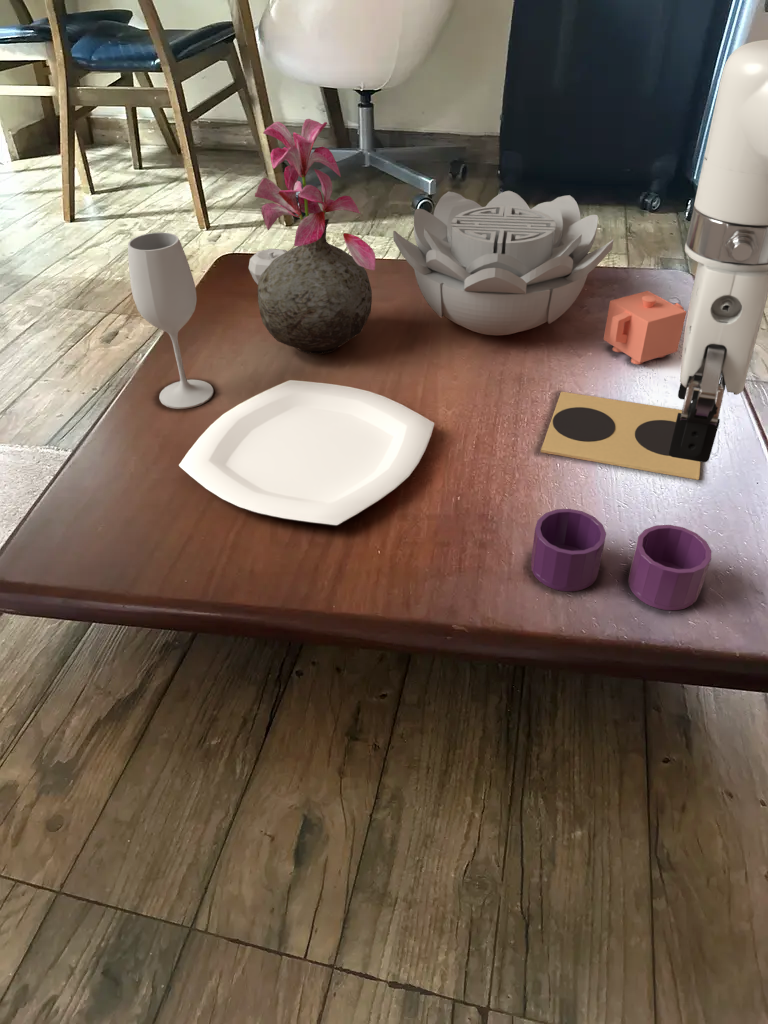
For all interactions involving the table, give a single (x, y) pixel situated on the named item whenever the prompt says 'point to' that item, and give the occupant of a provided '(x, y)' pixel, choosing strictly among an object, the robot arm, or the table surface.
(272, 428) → the plate
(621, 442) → the placemat
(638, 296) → the pink cube teapot
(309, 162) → the vase
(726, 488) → the table surface
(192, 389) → the wineglass
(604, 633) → the table surface
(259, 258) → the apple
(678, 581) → the plum dish
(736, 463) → the table surface
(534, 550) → the plum dish
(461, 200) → the decorative bowl
